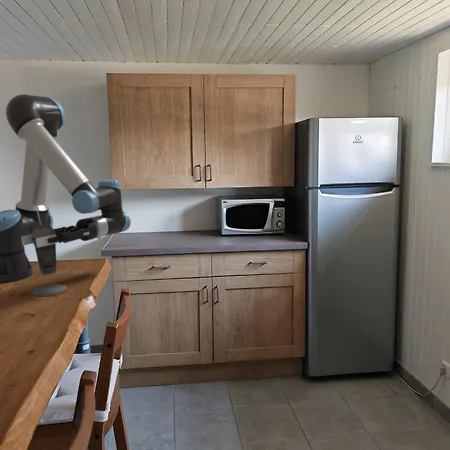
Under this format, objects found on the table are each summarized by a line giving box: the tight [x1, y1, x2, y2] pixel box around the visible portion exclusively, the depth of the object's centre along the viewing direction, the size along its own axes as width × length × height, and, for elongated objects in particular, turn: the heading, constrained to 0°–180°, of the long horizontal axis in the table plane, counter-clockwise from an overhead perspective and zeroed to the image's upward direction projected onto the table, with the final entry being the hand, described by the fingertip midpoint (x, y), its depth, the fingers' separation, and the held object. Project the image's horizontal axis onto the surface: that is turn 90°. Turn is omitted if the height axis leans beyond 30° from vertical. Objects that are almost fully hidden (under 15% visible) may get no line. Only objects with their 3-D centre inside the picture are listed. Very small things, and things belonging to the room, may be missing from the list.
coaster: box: [32, 283, 68, 297], centre depth 145 cm, size 10×10×1 cm
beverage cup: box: [32, 210, 57, 276], centre depth 142 cm, size 7×7×20 cm
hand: (29, 241), depth 138 cm, fingers closed on beverage cup, 7 cm apart
